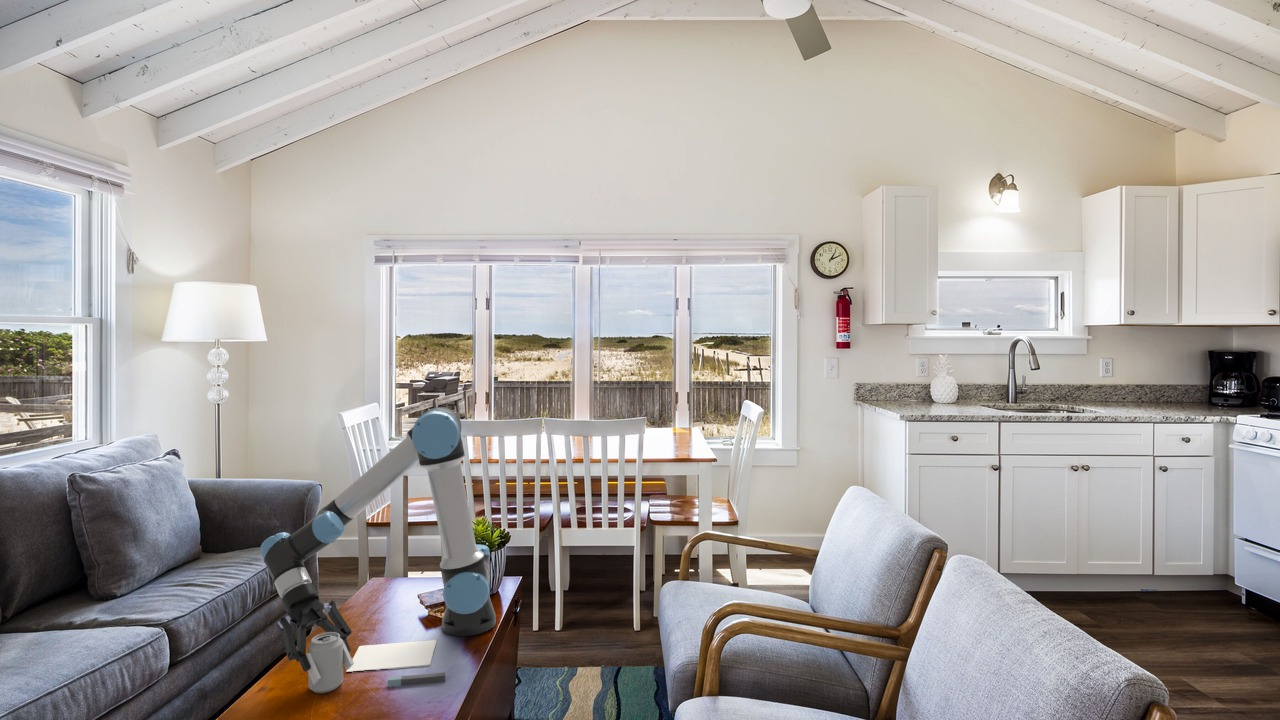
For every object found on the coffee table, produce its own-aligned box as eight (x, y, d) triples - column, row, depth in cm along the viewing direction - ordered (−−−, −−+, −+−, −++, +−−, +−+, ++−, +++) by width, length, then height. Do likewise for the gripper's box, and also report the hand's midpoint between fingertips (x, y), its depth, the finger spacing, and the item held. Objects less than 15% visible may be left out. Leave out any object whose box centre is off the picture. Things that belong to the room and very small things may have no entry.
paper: (436, 641, 181) (436, 639, 181) (429, 666, 167) (429, 664, 167) (359, 647, 178) (359, 645, 178) (346, 673, 164) (346, 671, 164)
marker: (445, 678, 161) (445, 671, 161) (444, 682, 160) (444, 675, 159) (389, 683, 159) (389, 676, 159) (387, 687, 157) (387, 680, 157)
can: (334, 675, 163) (333, 627, 162) (349, 685, 158) (348, 635, 158) (302, 687, 157) (302, 637, 157) (317, 698, 152) (316, 647, 152)
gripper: (330, 586, 174) (366, 664, 165) (248, 612, 157) (284, 700, 149) (341, 570, 171) (379, 649, 162) (259, 595, 154) (296, 684, 145)
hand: (334, 673), depth 155 cm, fingers closed on can, 7 cm apart
